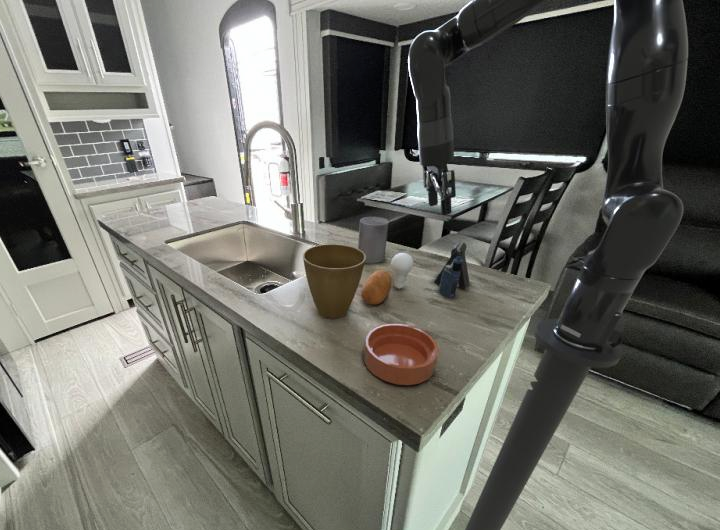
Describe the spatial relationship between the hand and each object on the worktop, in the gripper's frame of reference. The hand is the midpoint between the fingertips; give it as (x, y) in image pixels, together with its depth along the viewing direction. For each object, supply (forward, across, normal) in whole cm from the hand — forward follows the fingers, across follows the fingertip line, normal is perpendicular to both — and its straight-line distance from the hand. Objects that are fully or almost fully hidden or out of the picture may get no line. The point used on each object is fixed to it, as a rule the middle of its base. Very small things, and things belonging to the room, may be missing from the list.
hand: (439, 209), depth 81 cm
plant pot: (+16, -9, +33) cm, 38 cm away
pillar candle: (+21, +25, +16) cm, 36 cm away
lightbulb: (+22, +2, +12) cm, 25 cm away
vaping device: (+25, -2, 0) cm, 25 cm away
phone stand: (+26, +5, -4) cm, 26 cm away
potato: (+20, -2, +20) cm, 28 cm away
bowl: (+19, -30, +21) cm, 41 cm away
